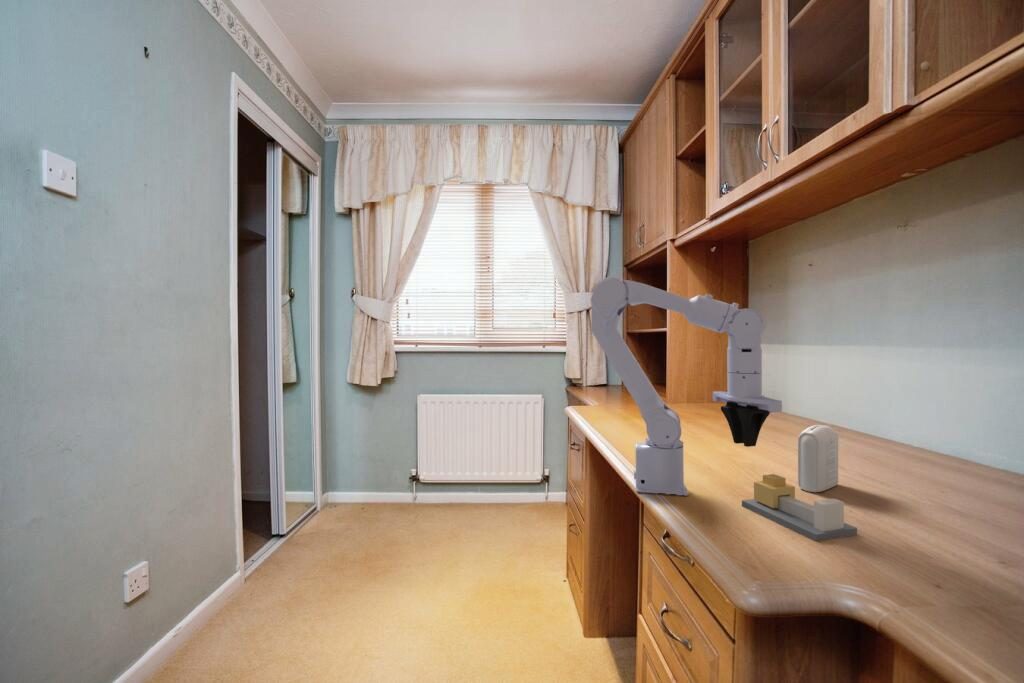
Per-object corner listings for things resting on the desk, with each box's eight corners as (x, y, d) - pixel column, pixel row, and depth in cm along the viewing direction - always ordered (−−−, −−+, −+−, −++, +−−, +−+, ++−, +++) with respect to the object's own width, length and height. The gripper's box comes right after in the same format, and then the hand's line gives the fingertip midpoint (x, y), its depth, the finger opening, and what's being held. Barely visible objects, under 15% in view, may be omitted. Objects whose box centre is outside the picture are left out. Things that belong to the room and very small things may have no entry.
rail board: (741, 506, 77) (741, 478, 77) (777, 501, 79) (777, 474, 79) (816, 541, 63) (816, 507, 63) (857, 534, 65) (856, 501, 65)
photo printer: (817, 479, 91) (817, 420, 91) (841, 484, 87) (841, 424, 87) (794, 488, 85) (794, 426, 85) (819, 495, 81) (819, 430, 81)
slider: (754, 499, 76) (753, 474, 76) (774, 497, 77) (774, 472, 77) (773, 508, 72) (773, 481, 72) (794, 505, 73) (794, 479, 73)
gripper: (795, 374, 75) (796, 452, 75) (732, 369, 89) (732, 434, 89) (763, 376, 73) (763, 455, 73) (703, 370, 87) (704, 437, 87)
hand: (744, 444), depth 81 cm, fingers closed
